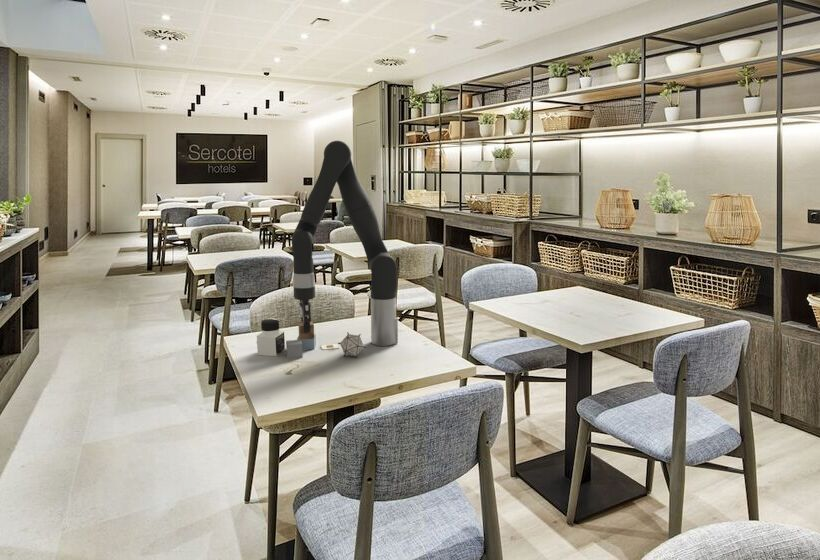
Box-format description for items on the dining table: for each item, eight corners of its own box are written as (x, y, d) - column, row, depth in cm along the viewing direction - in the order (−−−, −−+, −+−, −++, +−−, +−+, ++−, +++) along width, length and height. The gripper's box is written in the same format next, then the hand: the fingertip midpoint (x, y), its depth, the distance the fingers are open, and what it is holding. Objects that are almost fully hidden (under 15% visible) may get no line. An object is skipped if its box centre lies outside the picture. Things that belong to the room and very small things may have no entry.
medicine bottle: (276, 356, 194) (275, 323, 191) (257, 355, 195) (255, 321, 193) (285, 350, 201) (283, 317, 198) (266, 349, 202) (264, 316, 200)
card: (337, 344, 207) (337, 343, 207) (339, 348, 202) (339, 347, 202) (320, 346, 205) (320, 345, 205) (322, 349, 201) (322, 348, 201)
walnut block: (312, 334, 207) (312, 321, 206) (314, 338, 202) (313, 324, 201) (298, 335, 205) (298, 322, 204) (300, 339, 201) (299, 325, 200)
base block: (316, 344, 208) (315, 334, 207) (314, 349, 202) (313, 339, 201) (299, 345, 207) (299, 334, 206) (297, 350, 201) (296, 339, 201)
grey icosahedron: (357, 365, 196) (375, 343, 195) (345, 364, 188) (363, 340, 187) (341, 349, 200) (358, 327, 199) (328, 347, 192) (346, 324, 191)
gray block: (301, 353, 198) (300, 339, 197) (302, 357, 193) (302, 343, 192) (286, 354, 196) (286, 340, 195) (287, 359, 192) (287, 345, 191)
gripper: (317, 288, 194) (318, 333, 197) (312, 280, 208) (314, 323, 211) (295, 289, 192) (297, 335, 195) (291, 281, 206) (293, 324, 209)
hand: (305, 329), depth 203 cm, fingers open, 8 cm apart
